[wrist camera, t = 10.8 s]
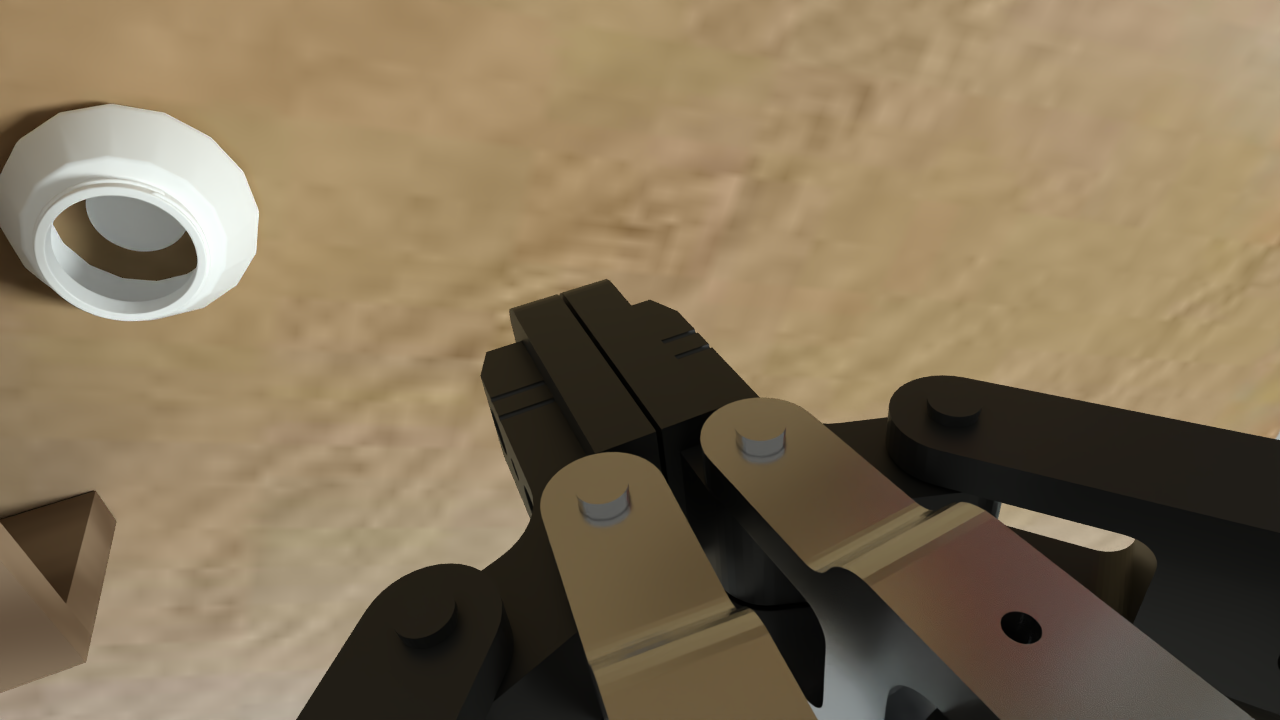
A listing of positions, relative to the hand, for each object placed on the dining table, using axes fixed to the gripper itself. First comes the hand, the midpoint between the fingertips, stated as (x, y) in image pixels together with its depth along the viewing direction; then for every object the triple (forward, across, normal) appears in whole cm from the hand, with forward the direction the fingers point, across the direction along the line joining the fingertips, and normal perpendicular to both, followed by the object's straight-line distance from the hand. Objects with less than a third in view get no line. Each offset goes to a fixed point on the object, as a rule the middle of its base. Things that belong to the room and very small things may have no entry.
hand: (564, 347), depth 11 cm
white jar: (+11, +7, 0) cm, 13 cm away
